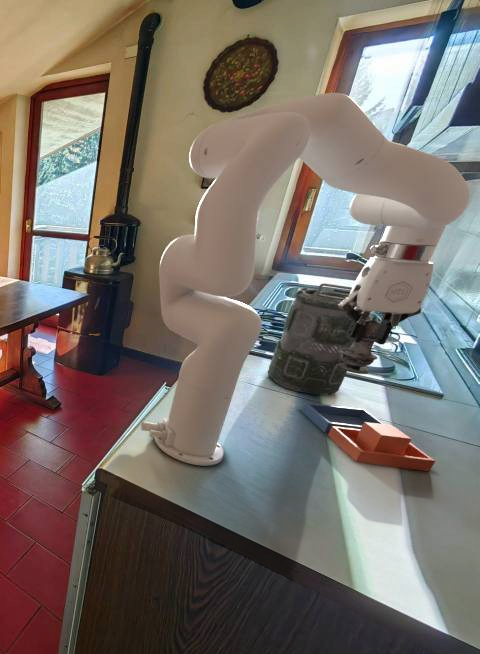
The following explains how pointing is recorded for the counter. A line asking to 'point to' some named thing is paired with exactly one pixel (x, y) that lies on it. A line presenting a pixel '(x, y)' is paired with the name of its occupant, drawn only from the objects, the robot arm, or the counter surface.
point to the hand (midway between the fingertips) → (364, 340)
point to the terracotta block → (382, 439)
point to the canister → (313, 342)
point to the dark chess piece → (361, 350)
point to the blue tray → (337, 416)
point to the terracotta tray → (409, 459)
